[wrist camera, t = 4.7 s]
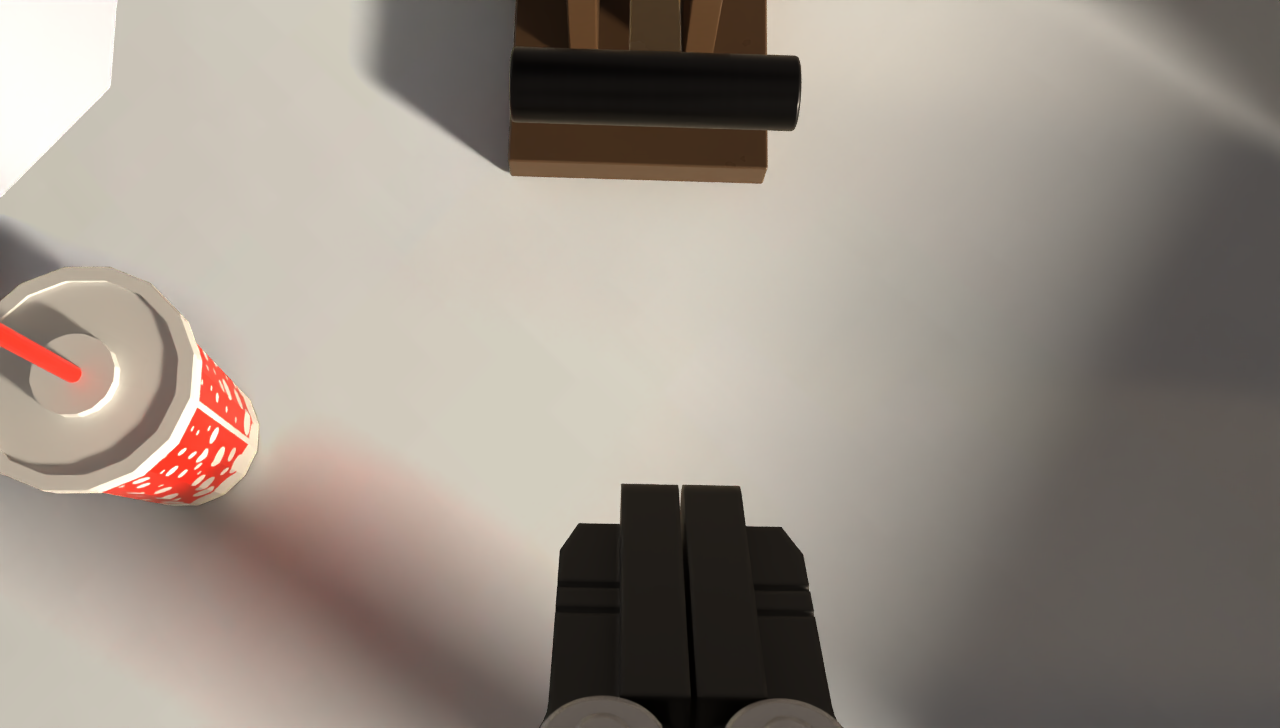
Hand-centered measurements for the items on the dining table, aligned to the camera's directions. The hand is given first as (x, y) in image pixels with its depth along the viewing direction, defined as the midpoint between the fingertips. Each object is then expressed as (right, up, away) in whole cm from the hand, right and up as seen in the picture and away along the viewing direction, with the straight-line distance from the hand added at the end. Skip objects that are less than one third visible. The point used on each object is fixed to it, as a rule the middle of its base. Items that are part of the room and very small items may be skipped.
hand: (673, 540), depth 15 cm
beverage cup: (-15, 0, +25) cm, 30 cm away
